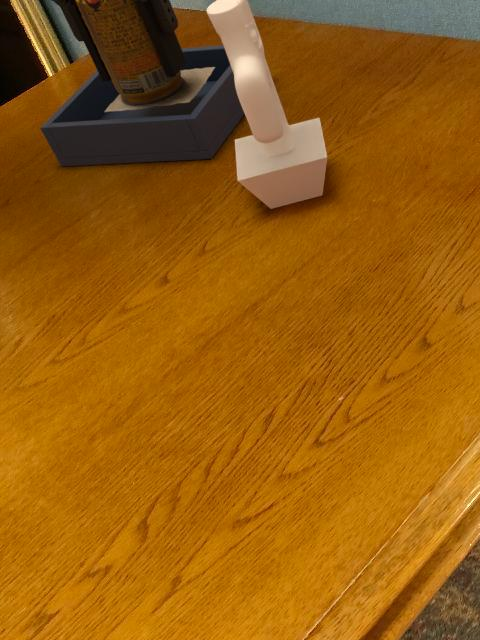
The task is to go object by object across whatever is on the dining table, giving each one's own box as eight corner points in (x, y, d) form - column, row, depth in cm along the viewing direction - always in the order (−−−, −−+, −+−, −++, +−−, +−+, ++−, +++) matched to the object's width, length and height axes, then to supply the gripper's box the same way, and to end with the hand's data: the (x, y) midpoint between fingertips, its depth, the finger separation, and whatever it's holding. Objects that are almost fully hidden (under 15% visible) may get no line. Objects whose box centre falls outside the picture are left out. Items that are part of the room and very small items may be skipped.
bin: (61, 166, 93) (39, 127, 90) (129, 91, 102) (112, 53, 99) (211, 159, 89) (194, 118, 86) (268, 81, 98) (255, 42, 96)
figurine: (255, 229, 80) (176, 37, 69) (250, 174, 86) (177, -10, 75) (342, 205, 80) (278, 11, 69) (331, 152, 87) (270, -34, 75)
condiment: (134, 77, 96) (72, -60, 87) (216, 68, 95) (161, -72, 86) (105, 114, 92) (37, -26, 83) (190, 106, 90) (130, -38, 81)
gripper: (141, -269, 75) (253, 46, 92) (-71, -234, 79) (74, 60, 96) (95, -241, 70) (222, 84, 87) (-127, -206, 75) (36, 97, 92)
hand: (144, 71), depth 92 cm, fingers closed on condiment, 6 cm apart
